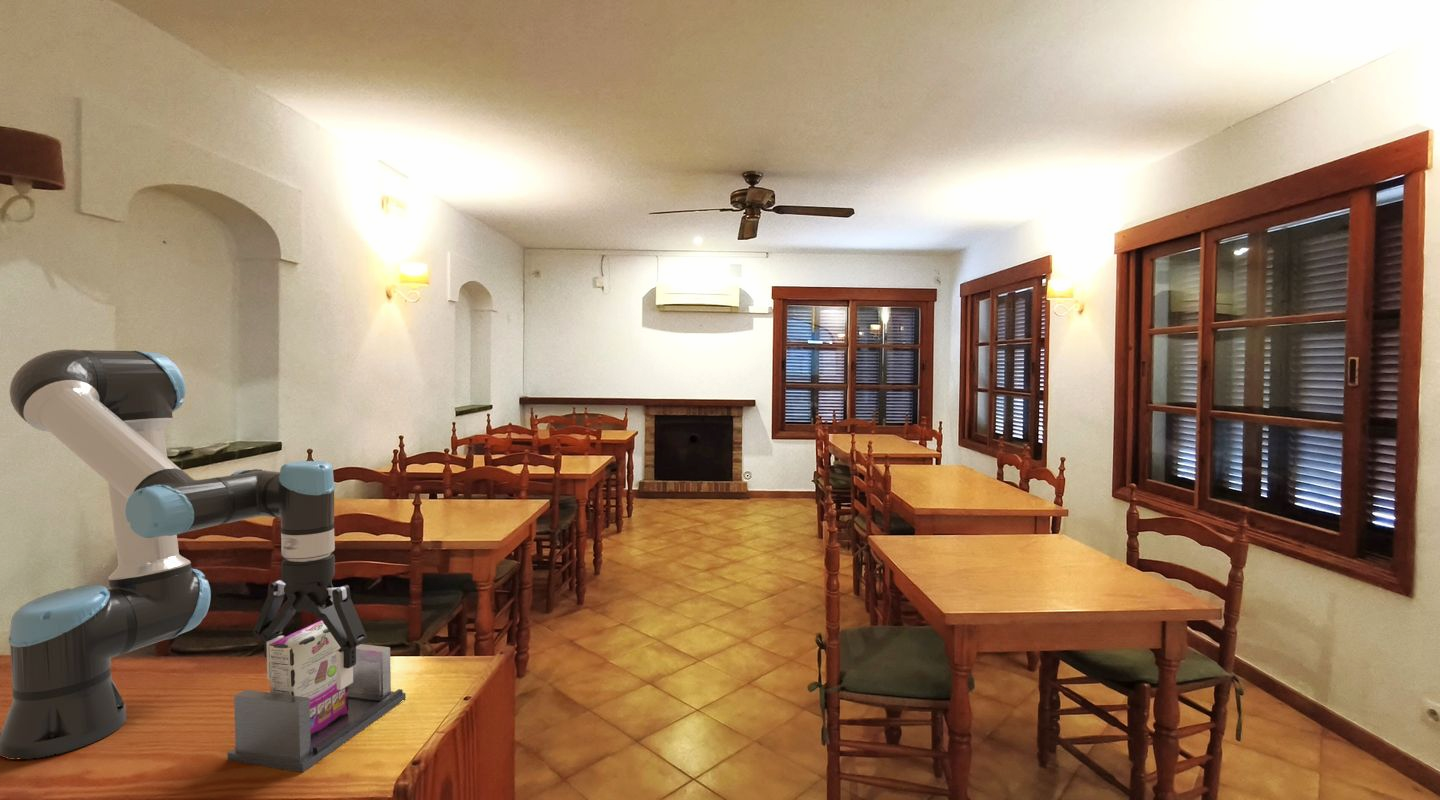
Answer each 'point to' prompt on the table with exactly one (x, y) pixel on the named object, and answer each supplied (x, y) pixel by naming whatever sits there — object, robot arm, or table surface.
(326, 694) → the candy bar box
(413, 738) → the table surface
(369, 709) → the vise
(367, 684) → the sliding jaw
